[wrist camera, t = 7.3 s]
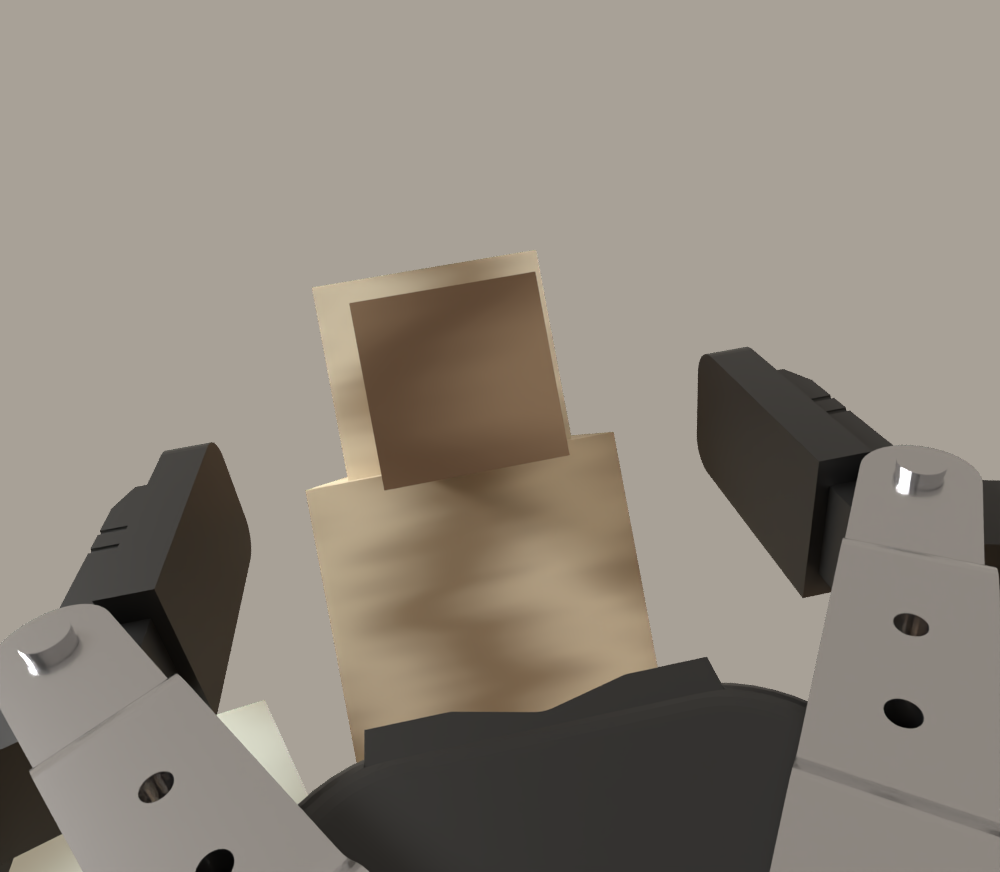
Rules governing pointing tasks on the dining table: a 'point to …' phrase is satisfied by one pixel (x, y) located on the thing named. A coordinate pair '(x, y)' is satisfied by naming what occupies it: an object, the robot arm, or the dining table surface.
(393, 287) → the brown tan long block
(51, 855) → the cream-topped wooden box
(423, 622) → the wooden block
